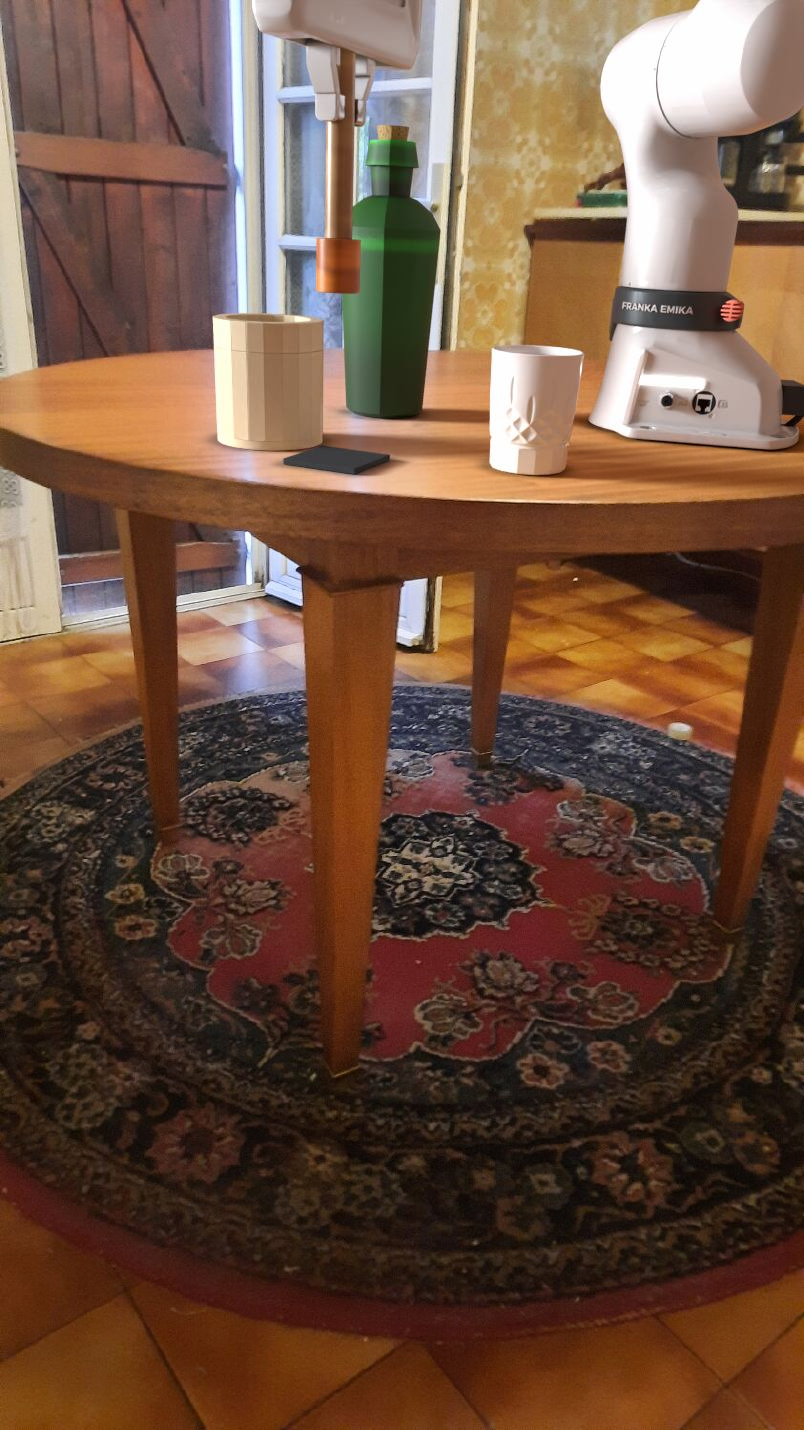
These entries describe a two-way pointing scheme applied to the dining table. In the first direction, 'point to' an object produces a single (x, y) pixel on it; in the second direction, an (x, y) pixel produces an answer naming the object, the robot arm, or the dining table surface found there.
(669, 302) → the robot arm
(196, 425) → the dining table surface
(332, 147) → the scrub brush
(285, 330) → the jar
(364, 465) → the mat
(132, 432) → the dining table surface
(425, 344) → the bottle
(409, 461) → the dining table surface
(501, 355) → the white cup
